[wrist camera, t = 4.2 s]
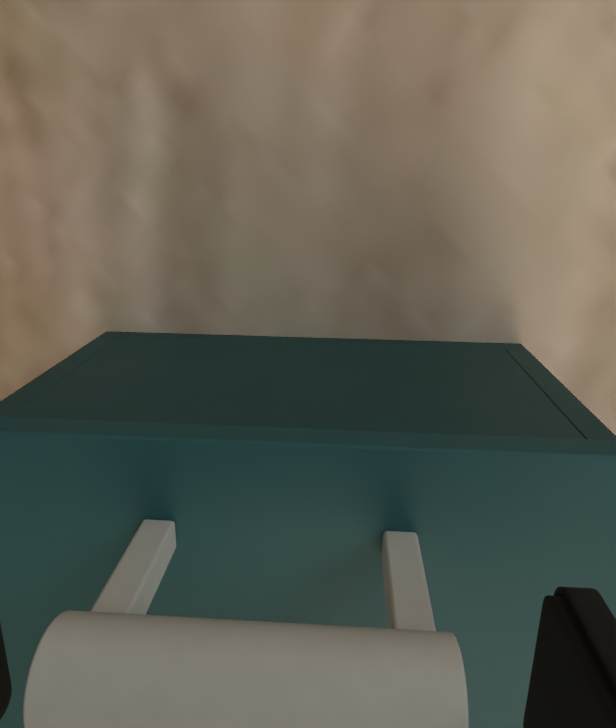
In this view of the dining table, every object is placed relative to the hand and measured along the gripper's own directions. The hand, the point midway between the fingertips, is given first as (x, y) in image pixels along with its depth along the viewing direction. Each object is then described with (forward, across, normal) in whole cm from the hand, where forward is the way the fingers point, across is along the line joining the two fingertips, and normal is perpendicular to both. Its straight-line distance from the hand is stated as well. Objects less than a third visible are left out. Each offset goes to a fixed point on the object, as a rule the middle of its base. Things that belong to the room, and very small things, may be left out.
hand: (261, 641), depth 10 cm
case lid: (+3, 0, +6) cm, 7 cm away
